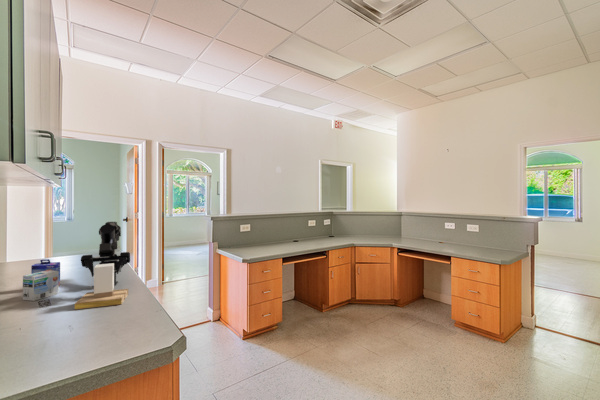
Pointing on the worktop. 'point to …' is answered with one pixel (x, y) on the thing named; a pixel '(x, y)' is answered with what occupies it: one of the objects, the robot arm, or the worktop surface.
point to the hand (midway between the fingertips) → (105, 274)
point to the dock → (101, 300)
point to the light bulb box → (40, 285)
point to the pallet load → (103, 280)
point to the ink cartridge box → (46, 267)
